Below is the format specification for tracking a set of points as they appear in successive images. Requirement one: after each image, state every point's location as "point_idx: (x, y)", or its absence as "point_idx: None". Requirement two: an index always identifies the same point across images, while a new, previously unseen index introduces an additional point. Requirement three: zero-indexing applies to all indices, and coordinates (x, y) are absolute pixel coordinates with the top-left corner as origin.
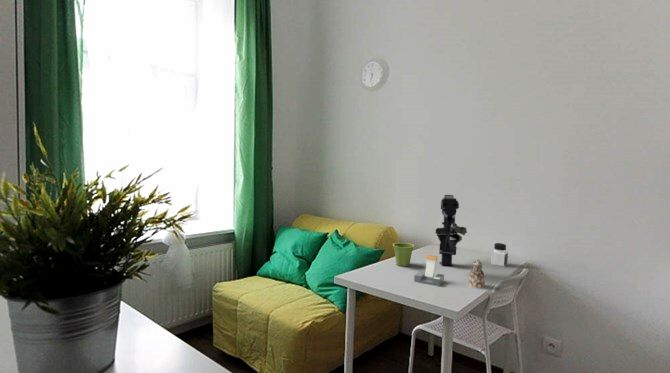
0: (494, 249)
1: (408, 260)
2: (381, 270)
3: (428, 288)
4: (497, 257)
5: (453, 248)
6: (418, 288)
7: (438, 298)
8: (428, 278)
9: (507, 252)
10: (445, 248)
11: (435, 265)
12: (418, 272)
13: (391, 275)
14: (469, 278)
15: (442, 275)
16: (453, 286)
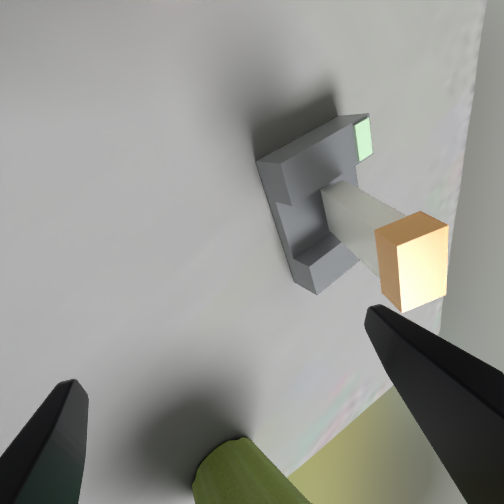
0: None
1: (241, 467)
2: (340, 388)
3: (385, 129)
4: None
5: (45, 465)
6: (403, 156)
7: (443, 13)
8: (319, 215)
9: None
10: (387, 308)
11: (362, 215)
12: (345, 269)
13: (357, 327)
14: None
15: (301, 159)
16: (292, 49)
